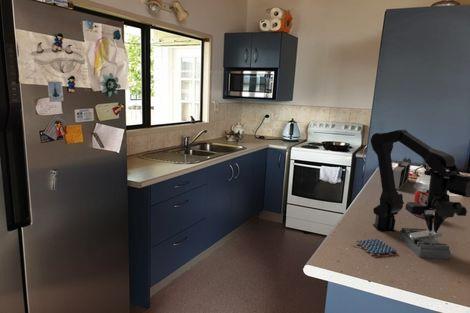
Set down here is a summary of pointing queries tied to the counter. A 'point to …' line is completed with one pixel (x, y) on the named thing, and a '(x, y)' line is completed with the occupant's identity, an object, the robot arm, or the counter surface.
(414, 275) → the counter surface
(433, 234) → the gray block
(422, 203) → the soda can
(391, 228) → the robot arm
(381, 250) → the woven mat
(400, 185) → the graphics card
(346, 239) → the counter surface
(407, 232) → the heat sink
